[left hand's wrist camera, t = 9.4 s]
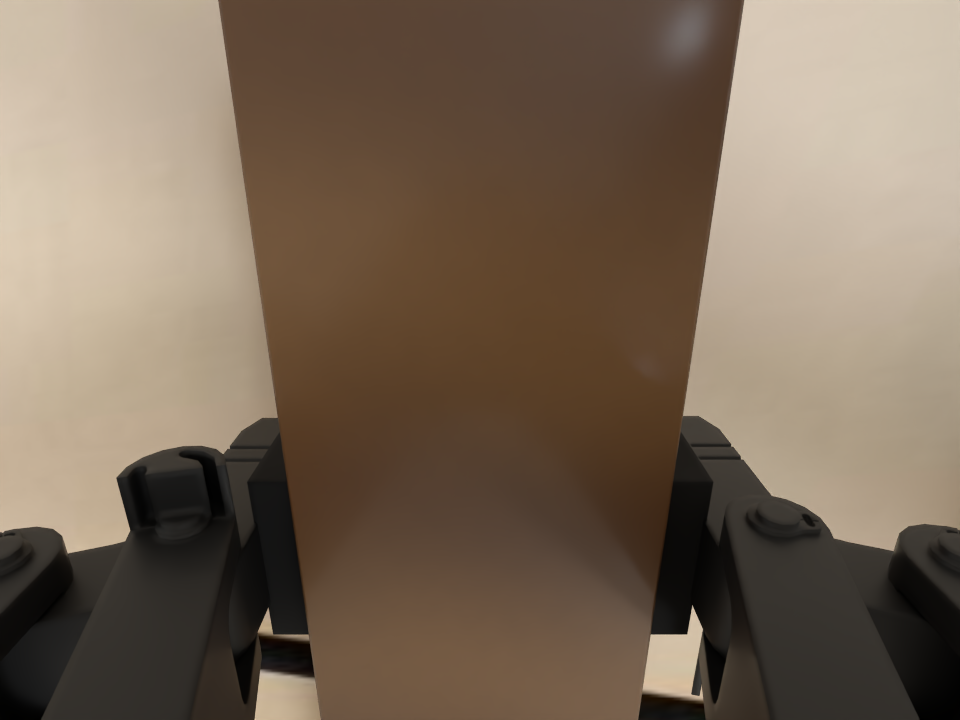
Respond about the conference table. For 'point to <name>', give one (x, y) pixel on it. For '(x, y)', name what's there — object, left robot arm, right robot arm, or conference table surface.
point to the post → (480, 330)
